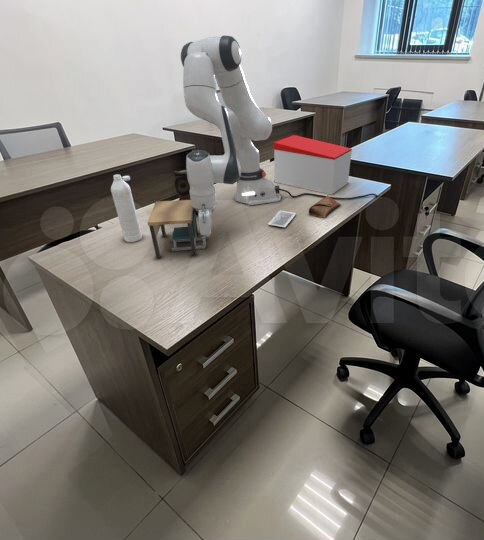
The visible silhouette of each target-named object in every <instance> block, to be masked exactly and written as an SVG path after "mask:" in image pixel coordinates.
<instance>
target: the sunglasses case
mask: <svg viewBox="0 0 484 540" xmlns="http://www.w3.org/2000/svg"><path fill="white" fill-rule="evenodd" d="M325 196H326V197H322V199H320V200H319V201H317V202H316V203H314V204H313V205H311V206H310V207H309V209H308V214H309V215H310V216H313V217H317V218H325V219H326V218H327V216H328V215H329V214H330V213H332V212H333V211H334V210H336V209H338V208H339V207H340V206H341V205H342V203H339V202H338V201H337V200H336V199H332V198H330V197H331V196H329V194H327V195H325Z"/></svg>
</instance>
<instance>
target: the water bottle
mask: <svg viewBox="0 0 484 540" xmlns="http://www.w3.org/2000/svg"><path fill="white" fill-rule="evenodd" d="M130 180H131V176H130V175H124V176H122V175H121V174H118V173H117V174H114V175H113V181H112V184H111V186H110V192H111V196H112V200H113V203H114V207H115V210H116V214H117V219H118V221H119V224H120V228H121V233H122V236H123V239H124V241H125V242H127V243H135V242H138V241H140V240H141V239H142V238H143V234H142V231H141V226H140V222H139V218H138V214H137V210H136V206H135V202H134V198H133V194H132V190H131V186H130V185H129V183H127V182H128V181H130ZM126 181H127V182H126Z"/></svg>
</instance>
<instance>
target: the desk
mask: <svg viewBox="0 0 484 540" xmlns="http://www.w3.org/2000/svg"><path fill="white" fill-rule="evenodd" d="M193 212H194V216H195V223H196V234H197V236H198V235H199V228H198V223H197V215H196V214H195V208H194V207H192V205H191V200H179V199H177V200H162V201H155V202H154V204H153V207H152V210H151V212H150V215H149V217H148V220H147V226H148V227H149V232H150V236H151V240H152V245H153V249H154V253H155V257H156V259H157V260H158V259H161V257H162V256H161V253H160V248H159V244H158V235H159V231H160V230H161V234H162V235H161V236H162V238H166V237H167V232H166V227H165V226H166V225H179V224H180V225H182V224H183V225H184V224H187V225H186V226H187V227H188V231H189V237H190V241H189V242H190V246H191V255H192V257H196V256H197V252H196V250H197V249H195V243H194V237H193V230H192V224H191V222H192V216H193Z"/></svg>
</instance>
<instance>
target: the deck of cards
mask: <svg viewBox="0 0 484 540" xmlns="http://www.w3.org/2000/svg"><path fill="white" fill-rule="evenodd" d="M296 215H297V212H293V211H286V210H278V212H277V213H276V214H275V215H274V216H273V218H271V220H270V221H268V223H267V225H268V226H269V225H270V226H274V227H280V228H281V227H282V228H286V227H287V226H288V225H289V224H290V222H291V221H292V220H293V219H294V217H295V216H296Z"/></svg>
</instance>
